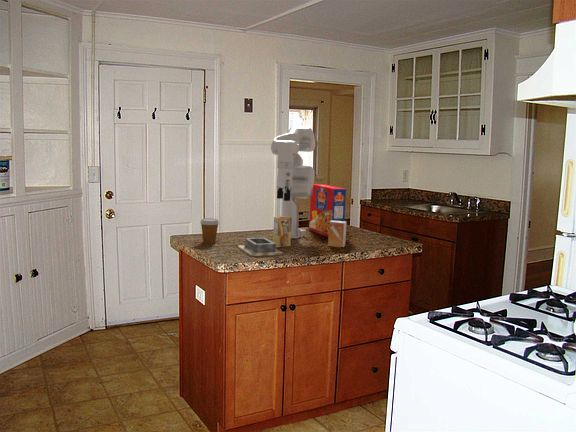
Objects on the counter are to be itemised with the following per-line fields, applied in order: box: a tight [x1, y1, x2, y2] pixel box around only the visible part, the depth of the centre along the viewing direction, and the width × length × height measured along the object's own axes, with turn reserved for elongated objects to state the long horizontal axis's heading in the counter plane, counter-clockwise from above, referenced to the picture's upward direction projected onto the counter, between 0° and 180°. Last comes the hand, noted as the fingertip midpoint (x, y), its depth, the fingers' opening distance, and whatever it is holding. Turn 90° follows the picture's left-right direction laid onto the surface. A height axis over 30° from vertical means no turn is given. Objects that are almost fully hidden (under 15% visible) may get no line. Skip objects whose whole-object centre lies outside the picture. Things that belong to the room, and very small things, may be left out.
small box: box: [327, 220, 348, 248], centre depth 288 cm, size 8×6×13 cm
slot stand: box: [237, 237, 283, 257], centre depth 269 cm, size 16×20×5 cm
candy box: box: [272, 215, 292, 248], centre depth 282 cm, size 9×4×15 cm, turn 129°
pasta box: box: [308, 183, 347, 238], centre depth 322 cm, size 28×8×28 cm, turn 24°
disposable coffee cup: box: [200, 217, 220, 245], centre depth 284 cm, size 10×10×12 cm
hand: (283, 199), depth 279 cm, fingers open, 9 cm apart
